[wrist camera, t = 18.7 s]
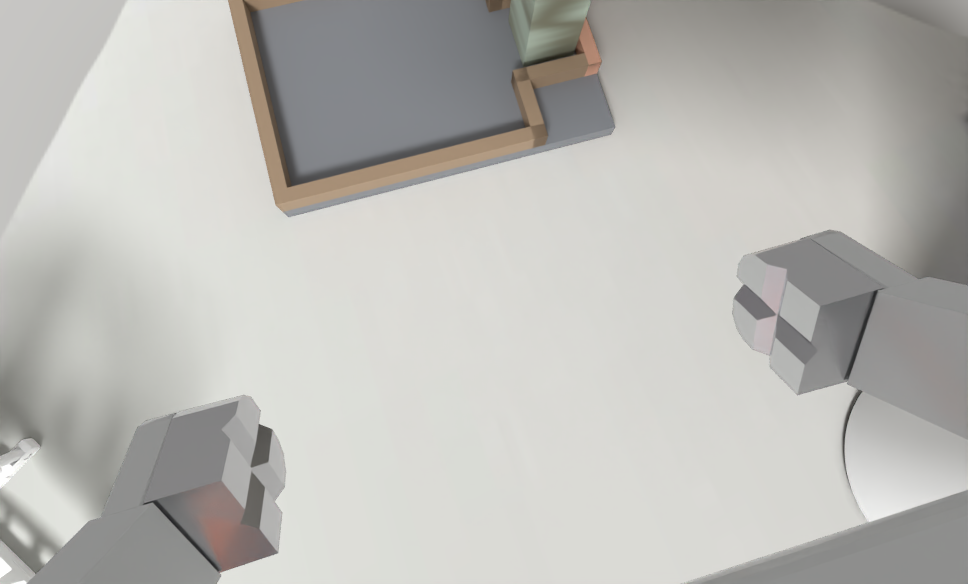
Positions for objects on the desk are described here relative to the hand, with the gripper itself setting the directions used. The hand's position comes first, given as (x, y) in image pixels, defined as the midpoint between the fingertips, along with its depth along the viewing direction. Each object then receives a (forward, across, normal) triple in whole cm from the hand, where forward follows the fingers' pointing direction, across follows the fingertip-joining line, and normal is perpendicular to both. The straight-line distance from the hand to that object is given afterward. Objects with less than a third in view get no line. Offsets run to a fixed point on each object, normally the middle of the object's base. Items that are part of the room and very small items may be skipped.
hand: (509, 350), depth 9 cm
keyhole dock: (+37, -2, +4) cm, 38 cm away
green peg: (+36, -12, +4) cm, 38 cm away
